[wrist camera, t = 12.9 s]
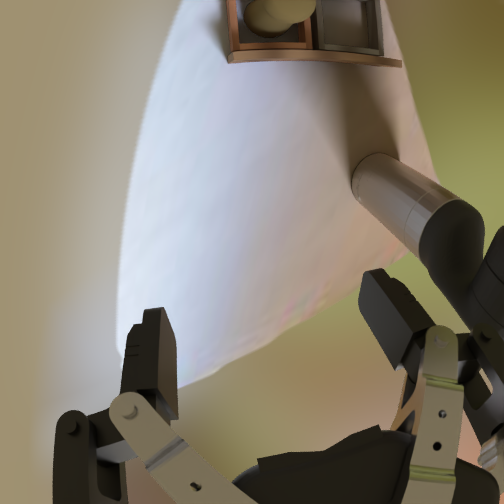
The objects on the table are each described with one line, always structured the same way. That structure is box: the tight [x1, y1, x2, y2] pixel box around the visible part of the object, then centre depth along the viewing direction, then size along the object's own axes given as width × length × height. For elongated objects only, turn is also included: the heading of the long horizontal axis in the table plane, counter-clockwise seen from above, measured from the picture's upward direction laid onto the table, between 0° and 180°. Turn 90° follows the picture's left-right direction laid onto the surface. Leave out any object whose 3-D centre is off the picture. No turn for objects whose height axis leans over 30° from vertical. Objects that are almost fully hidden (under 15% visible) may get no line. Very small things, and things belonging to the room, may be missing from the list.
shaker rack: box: [226, 0, 402, 68], centre depth 26 cm, size 21×11×6 cm, turn 94°
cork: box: [244, 0, 316, 38], centre depth 23 cm, size 6×6×11 cm
